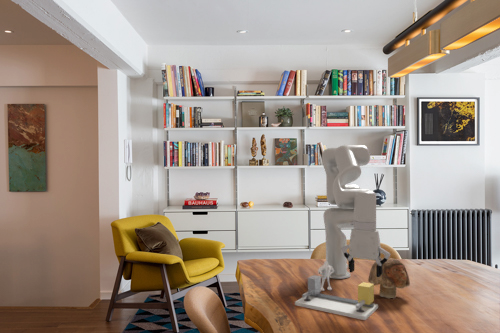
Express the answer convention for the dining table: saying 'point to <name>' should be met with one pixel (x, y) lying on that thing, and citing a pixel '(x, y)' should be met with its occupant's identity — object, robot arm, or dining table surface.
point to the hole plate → (336, 307)
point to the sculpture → (390, 277)
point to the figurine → (325, 274)
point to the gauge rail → (315, 290)
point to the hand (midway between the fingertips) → (365, 273)
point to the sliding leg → (365, 294)
